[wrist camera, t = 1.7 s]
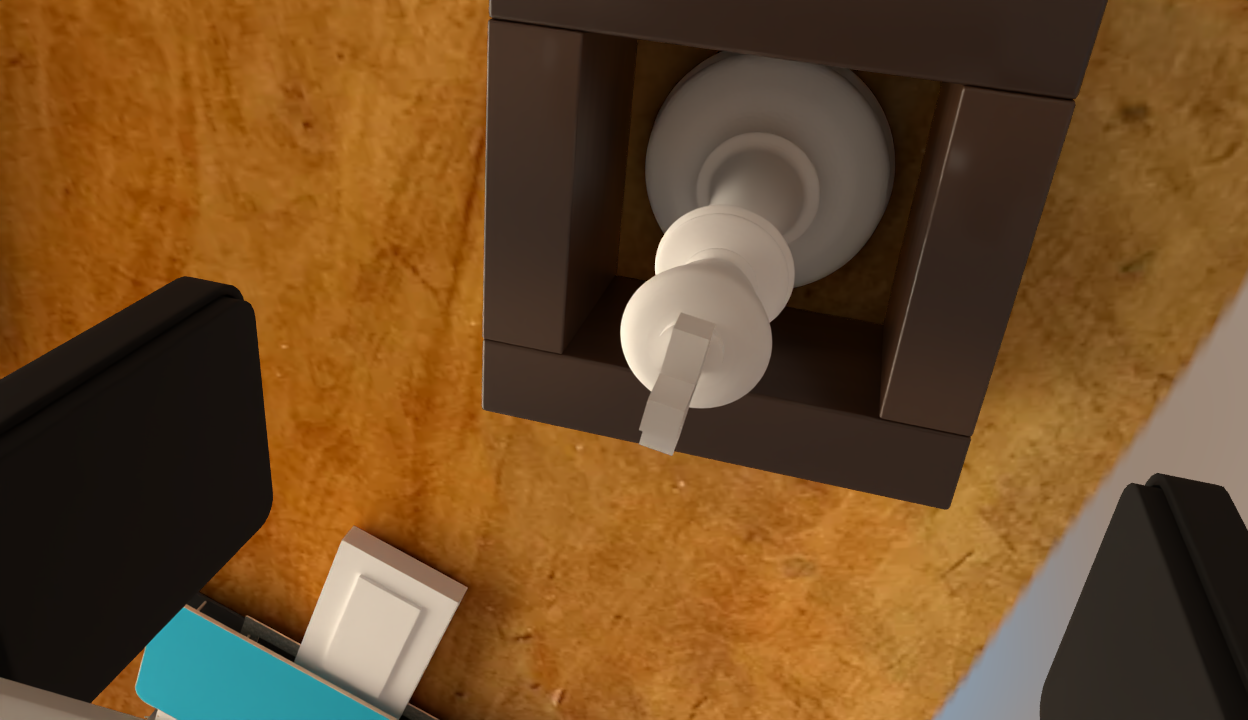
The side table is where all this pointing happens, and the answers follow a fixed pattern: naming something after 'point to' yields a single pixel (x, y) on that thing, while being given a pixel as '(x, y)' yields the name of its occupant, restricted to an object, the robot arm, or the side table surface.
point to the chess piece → (747, 221)
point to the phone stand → (308, 647)
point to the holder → (801, 340)
